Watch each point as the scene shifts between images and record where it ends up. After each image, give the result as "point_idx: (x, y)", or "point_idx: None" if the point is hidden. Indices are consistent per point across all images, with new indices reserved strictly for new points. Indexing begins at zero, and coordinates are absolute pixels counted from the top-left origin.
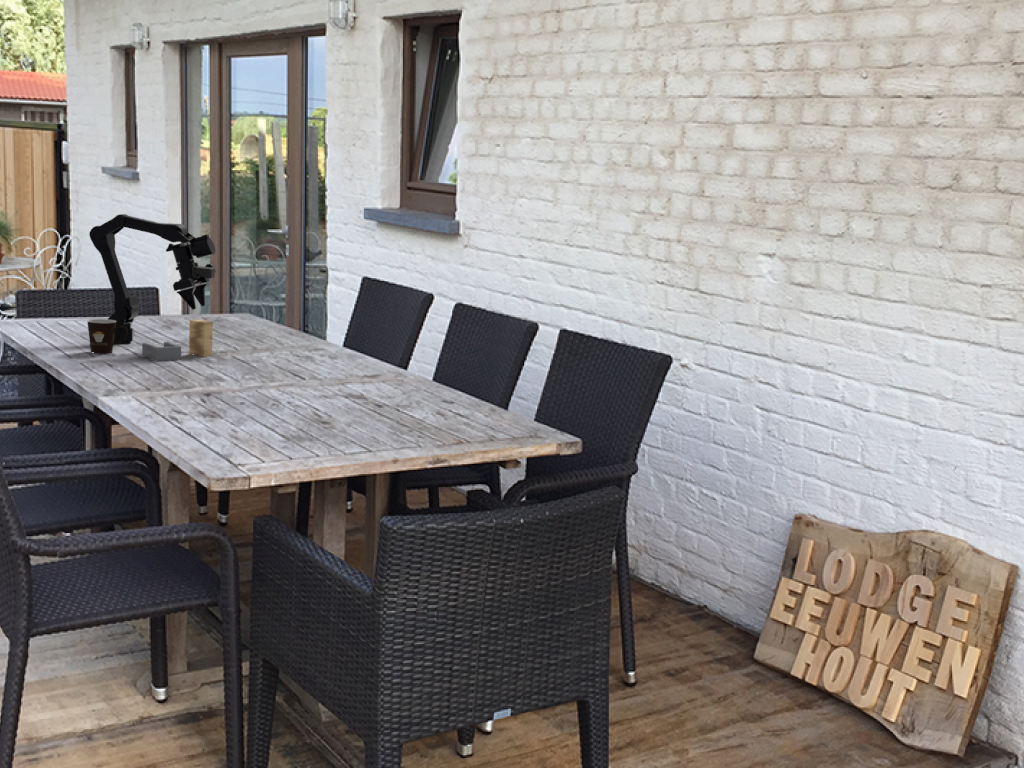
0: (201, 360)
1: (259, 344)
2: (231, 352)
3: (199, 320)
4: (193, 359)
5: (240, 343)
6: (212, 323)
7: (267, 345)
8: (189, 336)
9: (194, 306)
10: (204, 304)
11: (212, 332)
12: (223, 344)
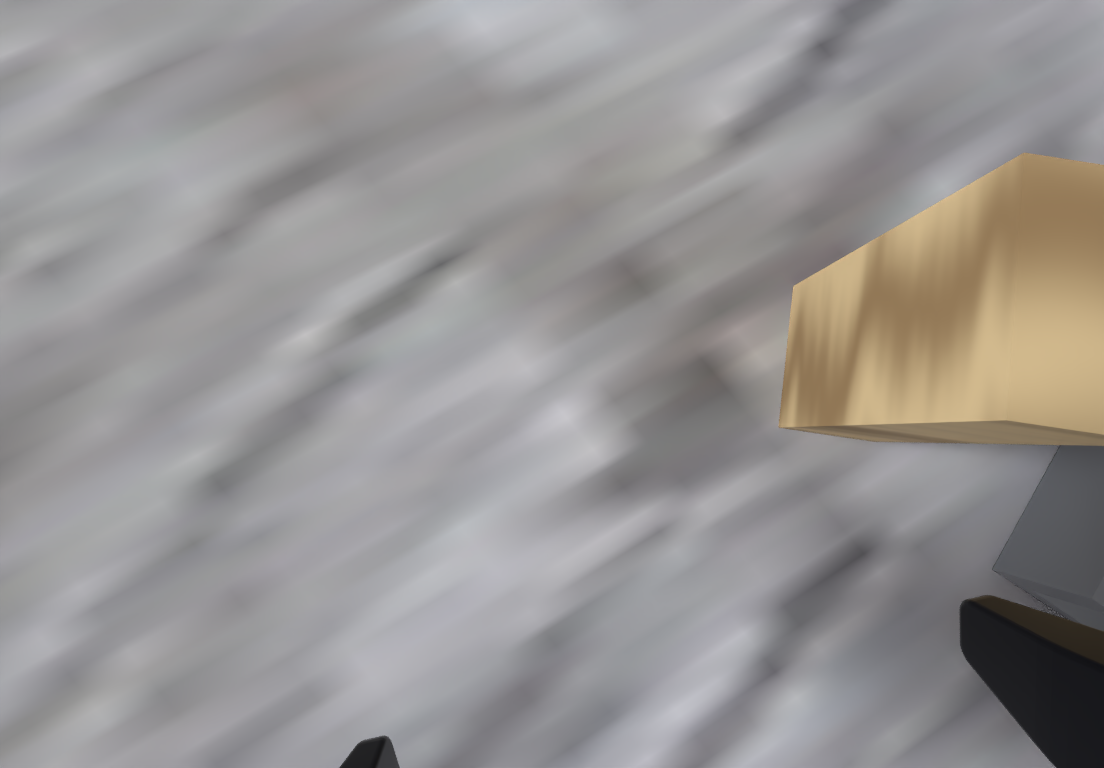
0: None
1: (90, 238)
2: (592, 230)
3: (1081, 342)
4: None
5: (137, 386)
6: (1004, 168)
7: (99, 165)
8: (988, 443)
9: (1049, 624)
10: (382, 749)
11: (914, 216)
12: (276, 472)
